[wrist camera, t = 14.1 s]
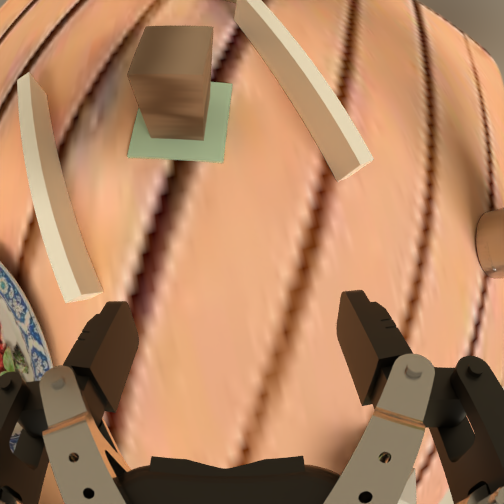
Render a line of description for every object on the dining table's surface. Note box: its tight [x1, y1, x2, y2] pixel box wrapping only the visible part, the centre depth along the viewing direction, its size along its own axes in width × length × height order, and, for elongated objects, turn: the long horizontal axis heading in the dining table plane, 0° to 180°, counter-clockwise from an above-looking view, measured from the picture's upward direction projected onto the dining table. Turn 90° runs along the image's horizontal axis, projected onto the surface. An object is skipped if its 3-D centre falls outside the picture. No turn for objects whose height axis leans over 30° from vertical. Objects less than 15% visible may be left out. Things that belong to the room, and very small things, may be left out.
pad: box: [127, 82, 233, 163], centre depth 26 cm, size 9×9×1 cm
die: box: [397, 468, 416, 504], centre depth 22 cm, size 8×9×10 cm
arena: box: [17, 0, 374, 303], centre depth 24 cm, size 27×24×5 cm
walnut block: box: [127, 26, 213, 141], centre depth 21 cm, size 5×5×10 cm
